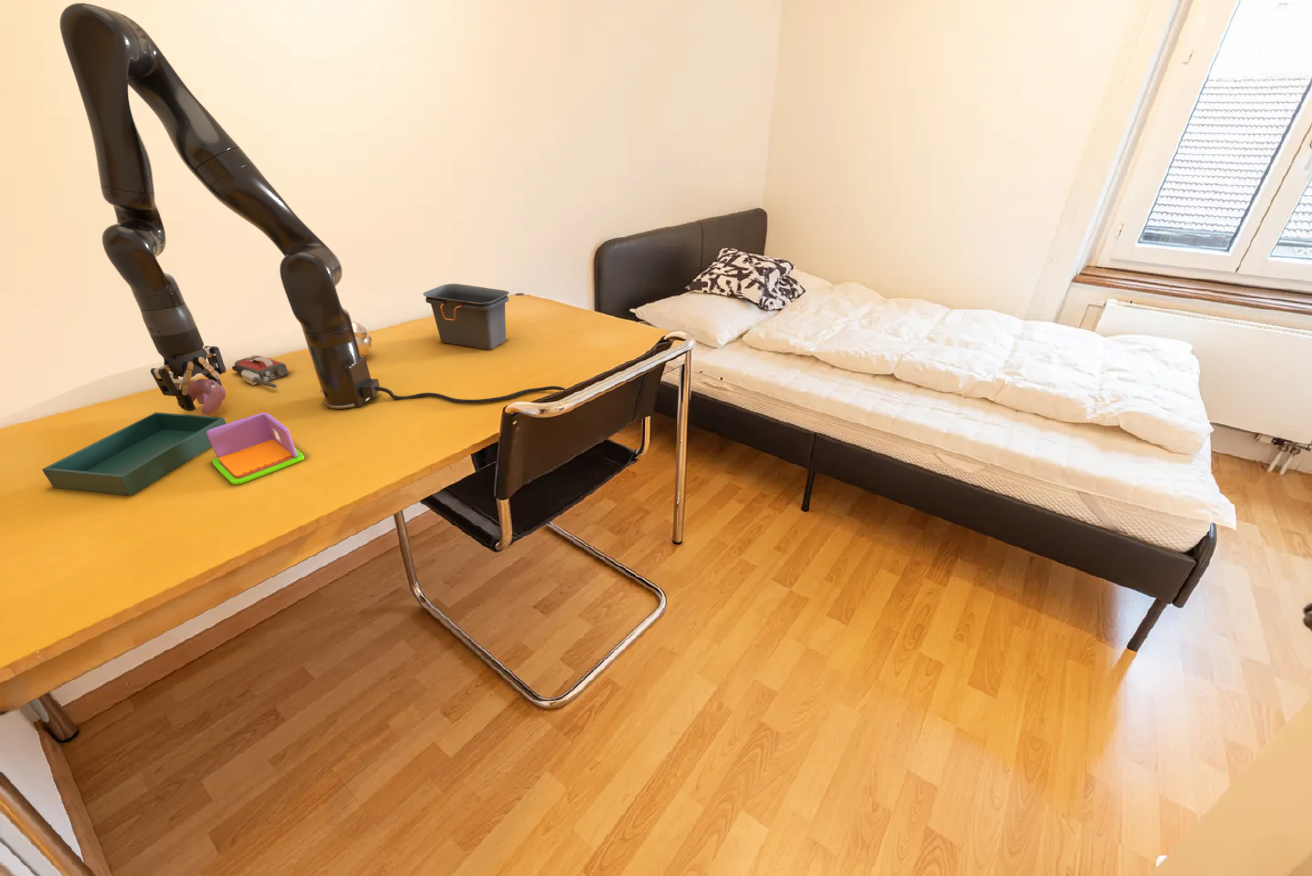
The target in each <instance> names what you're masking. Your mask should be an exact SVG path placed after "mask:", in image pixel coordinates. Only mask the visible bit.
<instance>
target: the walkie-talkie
mask: <svg viewBox="0 0 1312 876" xmlns="http://www.w3.org/2000/svg"><path fill="white" fill-rule="evenodd" d="M231 369H232V371H234V372H237V374H239V375H241V378H242V380H243V382H245V383H248V384H250V385H252V386H253V385H256V384H259V385H263V386H266V387H271V388H273V389H277V388H278V385H277V384H276V383H273V382H271V381H273V380H276V379H279V378H282V377H285V376H288V375H289V370H288V368H287V365H286V363H284V362H281V361H277V360H274V359H271V358H269V357H266V356H262V355H256V354H255V355H254V354H253V355H251V356H248V357H244V358H241V359H239V360H238V359H237V360H236V361H235V362H234V365H232V366H231Z"/></svg>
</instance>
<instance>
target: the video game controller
mask: <svg viewBox="0 0 1312 876" xmlns="http://www.w3.org/2000/svg"><path fill="white" fill-rule="evenodd" d="M188 394H190V396H191V399H192V401H193V403H194V402H195V401H197V403H198V404H199V405H202V407H201V412H202V414H203V416H210V415H212V414H214V413H215V412H217V411H218V410H219V408H220V407H221V405H222V404H223V401H224V400H225V398H226V389H225V386H223V385H222V386H220V385H219V384H218V383H217V382H215V381H213V380H210V379H208V378H197V379H191V383H190V384H189V385H188ZM177 405H178V407H180V405H179V402H178V401H177Z"/></svg>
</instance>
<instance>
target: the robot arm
mask: <svg viewBox="0 0 1312 876" xmlns="http://www.w3.org/2000/svg"><path fill="white" fill-rule="evenodd" d="M60 14H61V15H60V18H59V30H60V34H61V38H62V42H63V45H64V48H65V52H66V54H67V58H68V60H69V63H70V66H71V69H72V72H73V75H74V78H75V81H76V84H77V87H78V91H79V94H80V98H81V101H82V103H83V106H84V110H85V113H86V116H87V120H88V124H89V129H90V132H91V136H92V142H93V146H94V150H95V157H96V164H97V171H98V178H99V184H100V190H101V194H102V197H103V199H104V200H105V201H106V203H108V204H110V205H112V207H113V209H114V213H115V216H116V222H117V223H114V224H112V225H109V226H107V227H106V228H105V230H103V232H102V236H101V243H102V248H103V250H104V252H105V254H106V256H107V258H108V259H109V261H110V263H111V264H112V266H113V267H114V268H115V270H116V271H117V272H118V274H119V275H120V276H121V278H122V279H123V280H124V281H125V282H126V284H127V285H128V286H129V288H130V291H131V293H132V295H133V298H134V299H135V302H136V303H137V306H138V309H139V310H140V313H141V314H140V315H141V317H142V321H143V323H144V325H145V327H146V330H147V331H148V334H149V337H150V338H151V340H152V343H153V345H154V347H155V349H156V351H157V353H158V354H159V355H160V356H161V357H162V359H163V365H161V366H159V367H158V368H157V367H152V368H151V369H150V374H151V376H152V378H153V379H154V381H155V383H156V384H157V387H158V388H159V390H160V391H161V393H162V395H163V396H167V397H168V396H169V397H175V398H176V400H177V403H178V402H179V405H180V406H179V405H178V406H179V407H180V409H182V410H183V411H185V412H194V411H196V406H195V403H194V402H193V401H192V399H191V396H190V394H188V385H189V384H190V383H191V380H192V378H193V377H195V376H196V375H198V374H200V375H202V376H203V377H204V378H205V379H210V380H213V381H215V382H217V383H218V384H219V385H220V386H223V384H222V382H221V375H222V374H225V373H226V372H227V369H226V366H225V363H224V359H223V356H222V353H221V351H220V348H219V347H218V346H216V345H215V346H214V345H205V343H204V340H203V337H202V336H201V333H200V330H199V328H198V326H197V324H196V322H195V318H194V317H193V316H194V315H192V312H191V310H190V308H189V307H188V305H187V303H186V301H185V299H184V296H183V294H182V292H181V289H180V287H179V284H178V283H177V281H176V279H175V278H174V276H173V275H171V274H170V273H166V272H164V270H163V269H162V267H161V265H160V263H159V261H158V259H157V258H158V256H160V255H161V254H162V253H163V252H164V251H165V247H166V245H167V237H166V236H167V235H166V231H165V226H164V223H163V220H162V217H161V213H160V211H159V208H158V206H157V203H156V193H155V186H154V176H153V168H152V163H151V159H150V156H149V153H148V150H147V148H146V145H145V143H144V141H143V138H142V136H141V134H140V132H139V129H138V127H137V125H136V122H135V120H134V116H133V113H132V109H131V105H130V98H129V97H130V96H129V87H130V89H132V90H133V91H134V92H135V93H136V94H137V95H138V96H139V97H140V98H141V99H142V100H143V102H144V103H145V104H147V106H148V107H149V108H150V109H151V110H152V111H153V114H155V115H156V117H157V118H158V120H159V121H160V123H161V124H162V126H163V127H164V129H165V131H166V133H167V135H168V137H169V139H170V141H171V143H172V145H173V147H174V149H175V151H176V153H177V155H178V156H179V158H180V160H181V161H182V162H183V164H184V165H185V166H186V167H187V169H188V170H189V171H190V173H192V174H193V175H194V176H195V178H196V179H197V180H198V182H200V183H201V184H202V185H203V186H204V188H206V190H207V191H208V192H209V193H210V194H211V195H212V196H213V197H214V198H215V199H216V200H217V201H219V202H220V203H221V204H222V205H223V206H225V207H226V208H227V209H229V210H230V211H232V212H233V213H234V214H236V215H238V217H240V218H242V219H243V220H245V221H246V222H248V223H249V224H251V225H253V226H254V227H255V228H257V229H258V230H259V231H260V232H261V233H263V234H264V235H265V236H266V237H267V238H268V239H269V240H270V241H271V242H272V243H273V244H274V245H275V247H276V248H277V249H278V250H279V251H280V252H281V254H282V255H283V258H282V260H281V261H280V264H279V275H280V280H281V283H282V287H283V289H284V292H285V294H286V298H287V301H288V304H289V306H290V308H291V311H292V313H293V316H294V318H295V319H296V320H297V321H298V322H299V324H300V327H301V330H302V333H303V335H304V339H305V342H306V346H307V348H308V352H309V354H310V358H311V361H312V364H313V368H314V370H315V373H316V376H317V380H318V383H319V387H320V389H319V390H320V394H321V395H322V397H323V398H324V403H325V406H326V407H327V408H330V409H334V410H345V409H351V408H361V407H362V406H364V405H365V404H366V403H368V402H369V401H370V400H371V399H374V398H375V397H376V396H377V395H378V393H379V392H384V393H387V394H388V395H389V396H390V398H391V399H394V400H398V401H400V400H401V401H402V400H413V399H417V398H418V399H420V398H424V397H433V398H438V399H443V400H445V401H449V402H452V403H456V404H457V403H458V404H485V403H486V404H487V403H493V402H500V401H505V400H509V399H512V398H516V397H519V396H521V395H525V394H530V393H538V392H545V391H546V392H547V391H561V390H565V389H566V388H565V387H562V386H557V385H549V386H543V387H542V386H541V387H534V388H528V389H527V388H526V389H522V390H519V391H516V392H512V393H510V394H507V395H502V396H496V397H490V398H481V399H480V398H476V399H464V398H463V399H462V398H455V397H451V396H448V395H444V394H441V393H437V392H422V393H416V394H412V395H405V396H403V395H402V396H400V395H396V394H394V392H393V391H392V390H391V389H388V388H386V387H381V385H380V382H379V379H378V378H372V377H371V373H370V370H369V366H368V362H367V359H366V357H365V356H364V357H361V355H360V352H359V348H358V345H357V341H356V337H355V333H354V330H353V326H352V322H353V321H352V319H351V315H350V313H349V311H348V310H347V309H345V308H343V306H342V304H341V301H340V297H339V295H338V292H337V288H336V286H337V285H339V284H340V281H342V277H343V268H342V264H341V262H340V260H339V258H338V257H337V255H336V254H335V253H334V252H333V251H332V249H330V247H328V245H326V244H325V242H323V241H322V239H320V238H319V237H318V236H317V235H316V234H315V233H314V232H313V231H312V230H311V228H310V227H308V226H307V225H306V224H305V223H304V222H303V221H302V219H301V218H299V217H298V215H297V214H296V213H295V212H294V210H293V209H292V208H291V207H290V206H289V204H287V202H286V200H284V199H283V197H282V196H281V195H280V194H279V192H278V191H277V190H276V189H275V188H274V187H273V185H272V184H271V183H270V182H269V181H268V179H267V178H266V177H265V176H264V174H263V173H262V172H261V171H260V169H259V168H258V167H257V166H256V164H254V162H253V161H252V160H251V159H250V157H249V156H248V155H247V154H246V152H245V151H244V150H243V149H242V148H241V147H240V145H238V143H236V141H235V140H234V139H233V138H232V137H231V136H230V134H228V132H227V131H226V130H225V129H224V128H223V126H222V125H221V124H220V123H219V122H218V121H217V120H216V118H215V117H214V116H213V115H212V114H211V113H210V112H209V110H208V109H206V107H205V106H204V105H203V104H202V103H201V102H200V100H198V98H197V97H195V95H194V94H193V92H192V91H191V90H190V89H189V88H188V87H187V85H186V83H184V81H183V79H182V78H181V77H180V76H179V75H178V73H177V72H176V70H175V68H174V67H173V66H172V65H171V63H170V62H169V60H168V59H167V57H166V56H165V55H164V54H163V52H162V50H160V48H159V46H158V45H157V44H156V43H155V41H154V40H153V39H152V37H151V36H150V35H149V33H147V31H146V30H145V29H144V28H143V27H142V26H141V25H140V24H138V22H136V21H134V19H132V18H130V17H129V16H127V15H125V14H122V13H121V12H118V11H116V10H112V9H109V8H105V7H102V6H99V5H96V4H91V3H85V2H76V3H72V4H70V5H68V6H66V7H65V8H64V9H63V11H62V12H61V13H60ZM179 377H180V378H182V379H180V378H179ZM561 392H562V391H561Z"/></svg>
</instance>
